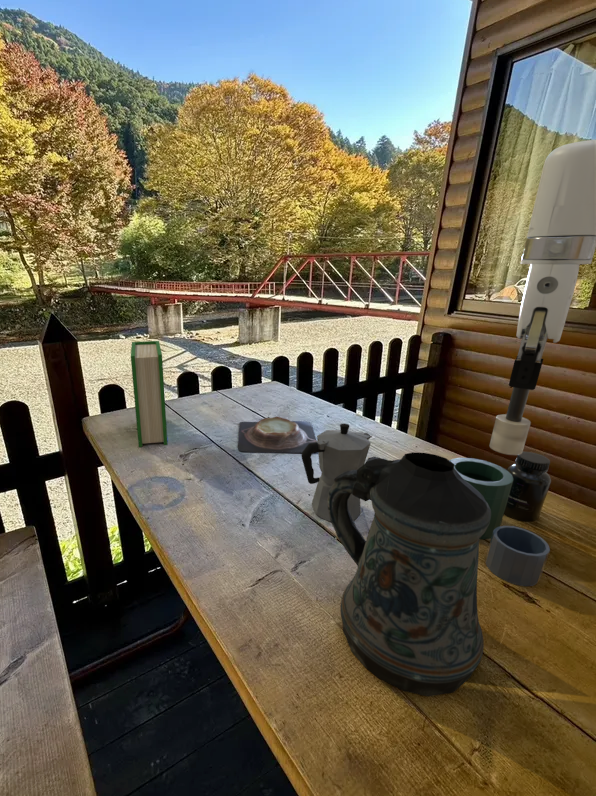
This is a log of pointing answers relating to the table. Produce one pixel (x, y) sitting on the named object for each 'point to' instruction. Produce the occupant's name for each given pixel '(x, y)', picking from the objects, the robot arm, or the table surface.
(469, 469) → the jar
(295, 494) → the table surface
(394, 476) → the beer stein
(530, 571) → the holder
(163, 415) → the hardback book
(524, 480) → the supplement bottle
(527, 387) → the robot arm
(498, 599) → the table surface
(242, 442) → the quiche
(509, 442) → the brush
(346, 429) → the coffeepot
